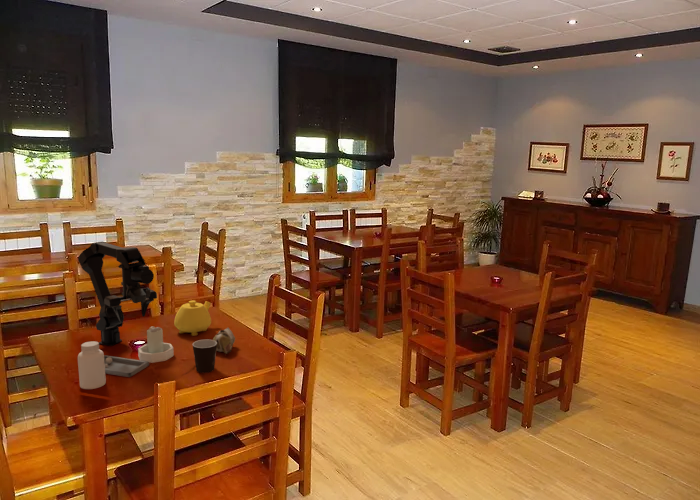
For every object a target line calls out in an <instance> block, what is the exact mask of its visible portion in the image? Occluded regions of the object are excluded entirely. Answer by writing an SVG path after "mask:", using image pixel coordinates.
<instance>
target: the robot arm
mask: <svg viewBox="0 0 700 500" xmlns="http://www.w3.org/2000/svg"><path fill="white" fill-rule="evenodd" d="M106 256H109V257H111V258H115V260H116V261H117V262H118V263H119V265H118V266H117V267H118V268H119V269H121V276H122V277H121V278H122V279H121V280H122V281H121V282H120V284H121V286H122V292H121V295H122V296H117V295H115V294H114V295H111V291H110V289H109V287H108V284H107V281H106V279H105V276H104V273H103V270H102V269H103V266H104V260H103V259H104V257H106ZM77 259H78V264H79V265H80V267H81V269H82V270H83V271H84V272H85V273H87V275H88V276H89V278H90V281H91V284H92V286H93V289H94V292H95V295H96V298H97V300H98V303H99V306H100V310H99V314H98V316H99V320H98V321H97V322H96V324H95V327H96V330H97V331H100V341H99V342H98V343H99V345H105V346H114V345H116V344H118V343H120V342H122V341H123V339H122V338H121V332H120V328H121V327H123V324H124V320H125V316H124V314H125V313H124V312H123V310H122V305H121V304H122V302H128V301H132V303H133V304H138V303H140V306H141V307H140V309H141V316H142V317H144V318H145V317H146V313H147V311H148V307H149V305H150V303H152V302H154V300H155V299H157V298H158V293H157V291H156V290H153V289H150V288H149V287H145V288H142V287H141V284H143V285H144V284H145V285H149V284H151V283H152V282H153V280H154V278H155V277H154V276H155V274H154V272H153V270H152V269H150V266H149V265H147V263H146V261H145V259H144V258H143V256H142V254H141V252H140V250H139V249H138V247H134V246H133V247H132V246H127V247H121V246H119V245H115V244H113V243H108V242H106V241H98V242H97V241H95V242H92V243H91V244H90V245H89V246H88V247H87V248H86V249H83V251H82V252H80V254H79V255H78V258H77Z"/></svg>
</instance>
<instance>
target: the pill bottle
mask: <svg viewBox="0 0 700 500" xmlns="http://www.w3.org/2000/svg"><path fill="white" fill-rule="evenodd" d="M80 347H81V348H80V349H81V352H79V353H78V355H77V366H78V367H77V368H78V369H77V370H78V379H79V380H78V381H79V387H80V388H81V389H83V390H93V389H98V388H101V387H103V386H104V385H106V382H107V377H106V373H105V363H104V355H105V354H104V351H103V350H101V349H100V344H99V342H98V341H96V340H95V341H94V340H93V341H86V342H83V343H82V344H80Z"/></svg>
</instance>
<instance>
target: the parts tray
mask: <svg viewBox="0 0 700 500" xmlns="http://www.w3.org/2000/svg"><path fill="white" fill-rule="evenodd" d="M104 363H105V375H106V374H108V375H113V376H119V377H125V378H131V377H132V376H134V375H136V374H137V373H139V372H141V371H142V370H144V369H145V368H148V367H149V366H150V362H148V361H141V360H140V359H134V358H127V357H119V356H113V355H107V354H106V355H105V354H104Z"/></svg>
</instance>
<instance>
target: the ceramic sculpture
mask: <svg viewBox="0 0 700 500" xmlns="http://www.w3.org/2000/svg"><path fill="white" fill-rule="evenodd" d="M212 340H214V341H216V342H217V348H216V352H218V353H224V354H229V353H231V352H232V350H233V346H234V344H235V341H236V337H235V335H234V333H233V331H232V330H231V329H230V327H226V328H225V329H221V330H219V331H218V332H217V333H216V334H215V335H214V337H213V338H212Z"/></svg>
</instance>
